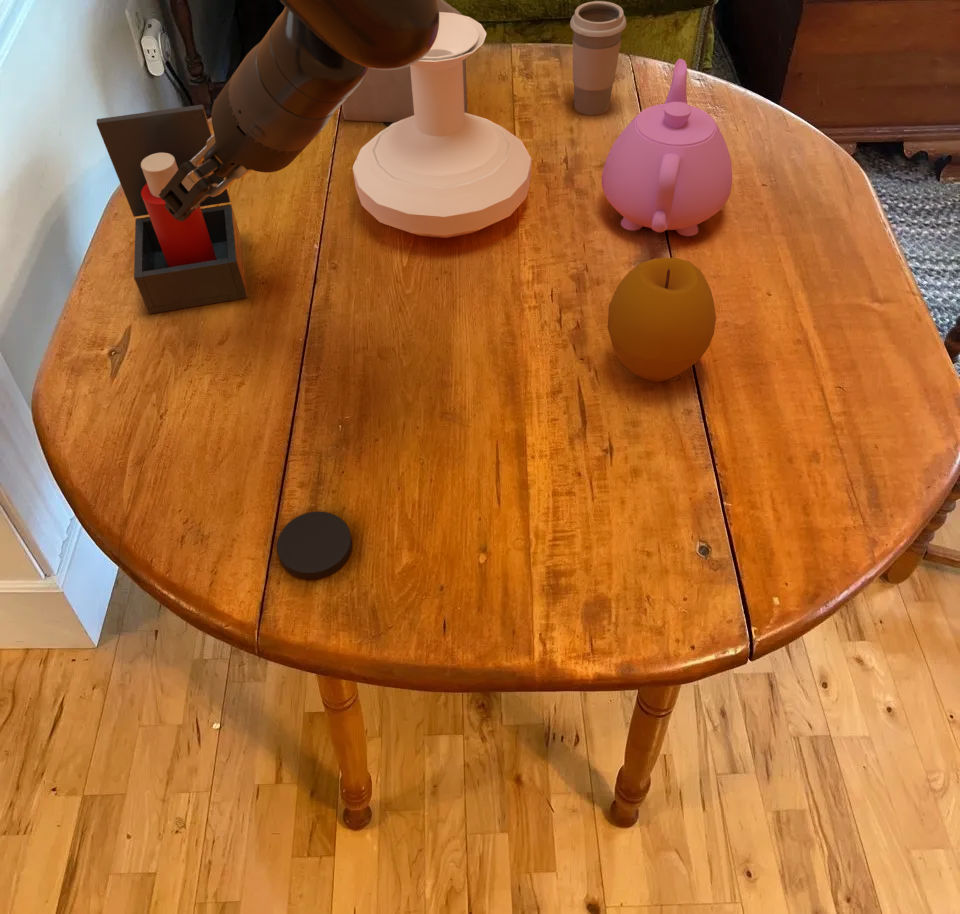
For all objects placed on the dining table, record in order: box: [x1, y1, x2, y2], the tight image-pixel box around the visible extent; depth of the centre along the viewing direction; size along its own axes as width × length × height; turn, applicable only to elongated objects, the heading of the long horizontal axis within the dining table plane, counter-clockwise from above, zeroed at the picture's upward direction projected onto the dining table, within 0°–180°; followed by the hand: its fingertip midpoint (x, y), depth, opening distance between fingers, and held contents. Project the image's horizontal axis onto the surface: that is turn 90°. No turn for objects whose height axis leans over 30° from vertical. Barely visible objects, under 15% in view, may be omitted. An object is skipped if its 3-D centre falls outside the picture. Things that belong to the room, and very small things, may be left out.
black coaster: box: [276, 511, 353, 580], centre depth 71 cm, size 6×6×1 cm
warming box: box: [133, 203, 248, 315], centre depth 92 cm, size 10×10×5 cm
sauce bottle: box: [141, 153, 217, 267], centre depth 88 cm, size 5×5×13 cm
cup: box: [569, 0, 627, 116], centre depth 109 cm, size 7×7×12 cm
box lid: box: [96, 104, 231, 218], centre depth 89 cm, size 11×10×1 cm
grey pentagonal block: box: [341, 0, 469, 124], centre depth 107 cm, size 16×8×19 cm, turn 83°
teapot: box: [600, 58, 733, 237], centre depth 95 cm, size 20×14×12 cm
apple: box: [607, 257, 717, 383], centre depth 79 cm, size 10×10×12 cm
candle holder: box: [351, 12, 533, 239], centre depth 94 cm, size 20×20×19 cm
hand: (207, 188), depth 82 cm, fingers open, 8 cm apart
